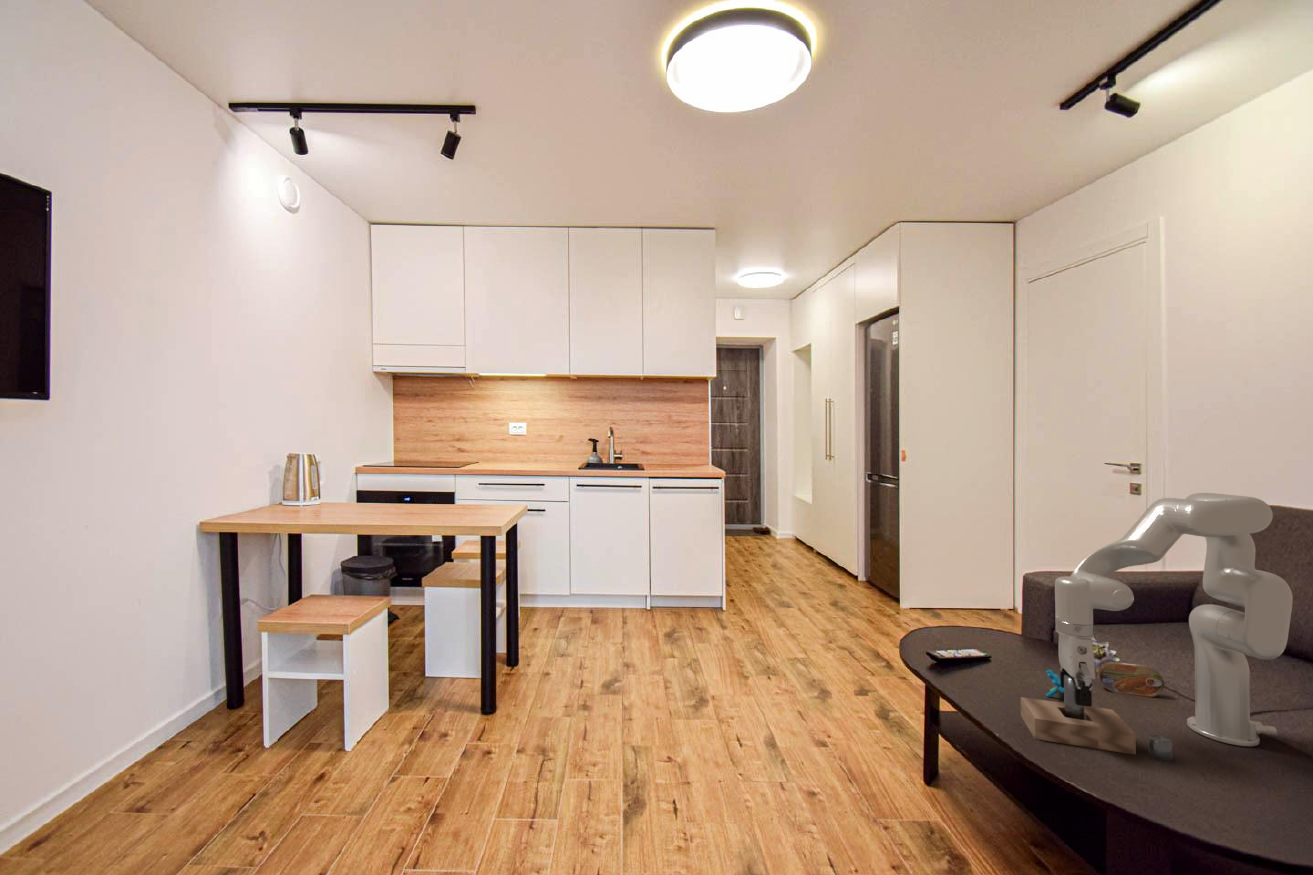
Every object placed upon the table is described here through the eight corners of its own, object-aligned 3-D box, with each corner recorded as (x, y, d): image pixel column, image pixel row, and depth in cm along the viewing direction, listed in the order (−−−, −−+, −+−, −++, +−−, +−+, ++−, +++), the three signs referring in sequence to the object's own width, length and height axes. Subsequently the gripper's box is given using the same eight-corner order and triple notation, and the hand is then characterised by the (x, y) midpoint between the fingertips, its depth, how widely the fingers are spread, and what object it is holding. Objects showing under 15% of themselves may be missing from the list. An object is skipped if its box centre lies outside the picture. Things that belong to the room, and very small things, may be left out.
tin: (1099, 690, 160) (1099, 661, 160) (1095, 686, 163) (1095, 657, 163) (1165, 699, 155) (1164, 669, 155) (1159, 694, 158) (1159, 665, 158)
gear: (1081, 705, 148) (1049, 671, 153) (1061, 716, 150) (1031, 682, 155) (1082, 696, 156) (1051, 664, 161) (1064, 707, 158) (1034, 675, 164)
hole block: (1112, 729, 138) (1112, 709, 138) (1135, 754, 127) (1135, 733, 127) (1020, 715, 145) (1020, 697, 145) (1035, 738, 134) (1034, 718, 134)
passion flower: (1097, 689, 173) (1075, 658, 173) (1080, 669, 184) (1059, 640, 184) (1134, 673, 170) (1111, 642, 170) (1115, 654, 180) (1093, 625, 180)
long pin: (1080, 731, 137) (1080, 675, 137) (1087, 739, 134) (1086, 682, 134) (1061, 728, 139) (1061, 673, 139) (1067, 736, 135) (1067, 679, 135)
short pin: (1166, 753, 127) (1166, 736, 128) (1176, 763, 124) (1176, 745, 124) (1145, 750, 129) (1145, 733, 129) (1154, 759, 125) (1154, 742, 125)
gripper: (1107, 641, 127) (1109, 715, 127) (1078, 618, 143) (1079, 683, 143) (1069, 637, 129) (1070, 710, 129) (1044, 615, 146) (1046, 680, 146)
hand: (1075, 696), depth 136 cm, fingers open, 9 cm apart
